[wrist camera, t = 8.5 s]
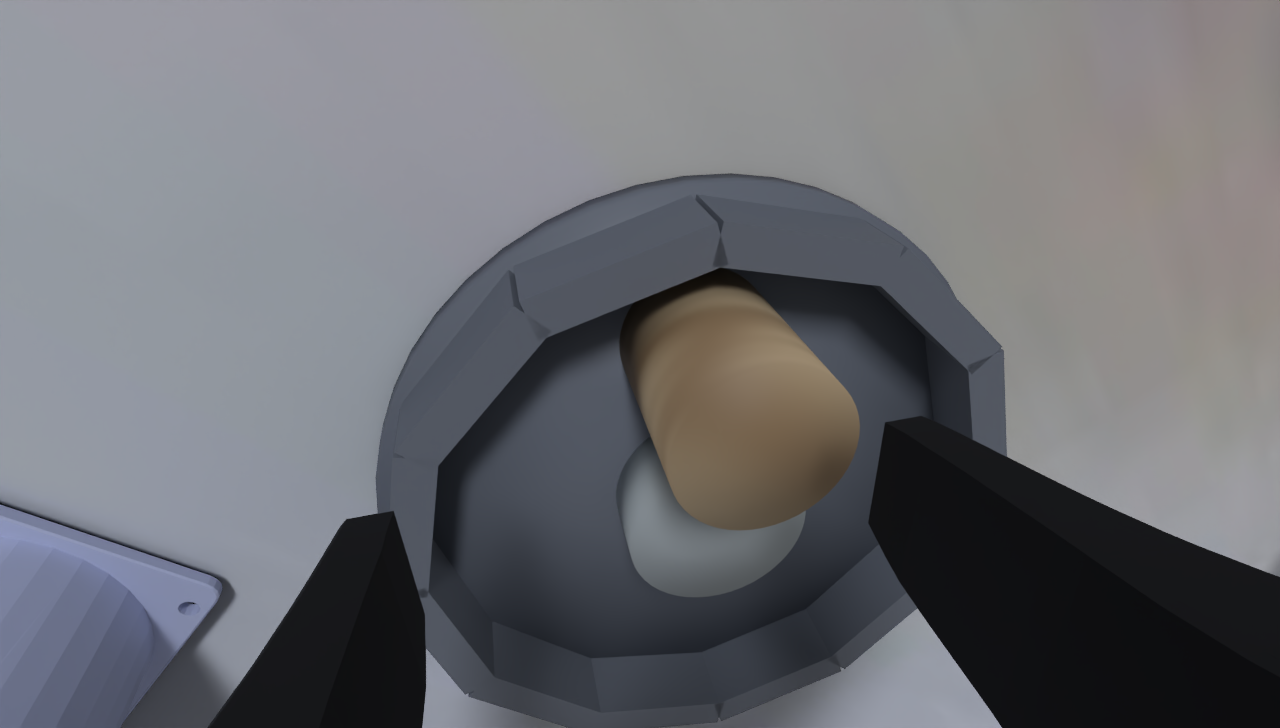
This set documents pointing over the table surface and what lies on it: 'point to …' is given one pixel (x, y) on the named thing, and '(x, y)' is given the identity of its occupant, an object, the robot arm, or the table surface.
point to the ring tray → (579, 416)
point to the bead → (736, 403)
